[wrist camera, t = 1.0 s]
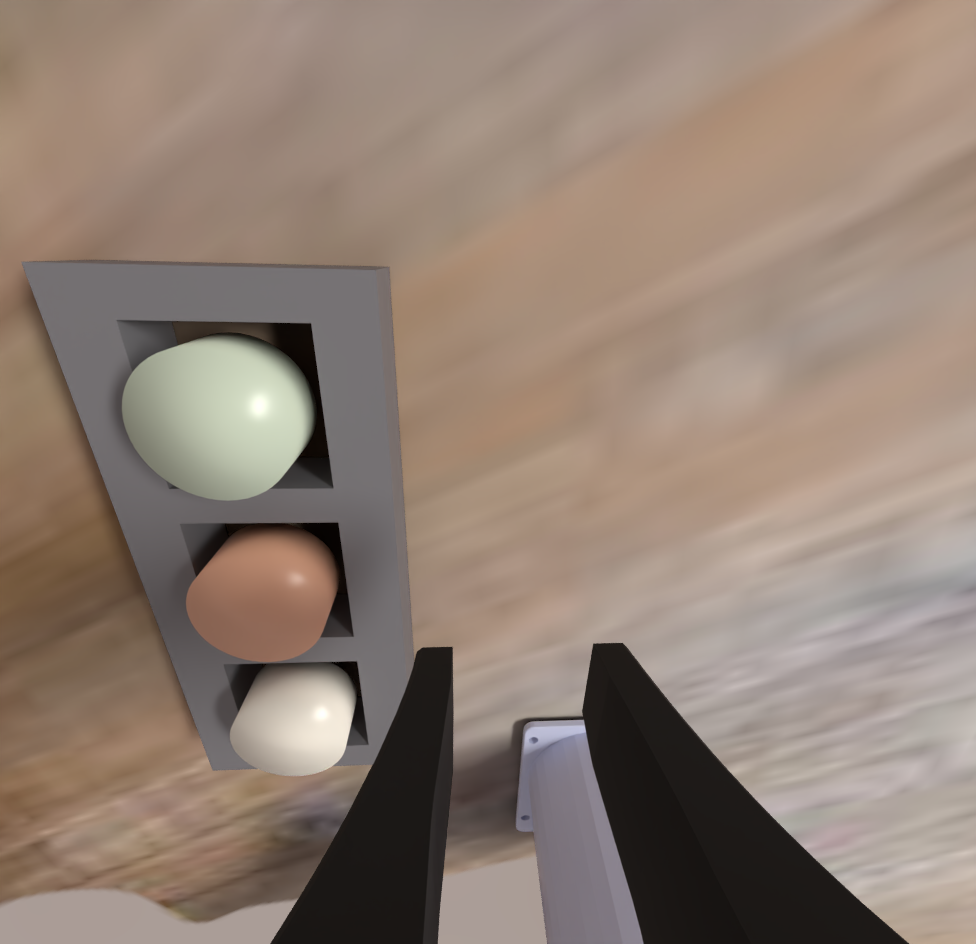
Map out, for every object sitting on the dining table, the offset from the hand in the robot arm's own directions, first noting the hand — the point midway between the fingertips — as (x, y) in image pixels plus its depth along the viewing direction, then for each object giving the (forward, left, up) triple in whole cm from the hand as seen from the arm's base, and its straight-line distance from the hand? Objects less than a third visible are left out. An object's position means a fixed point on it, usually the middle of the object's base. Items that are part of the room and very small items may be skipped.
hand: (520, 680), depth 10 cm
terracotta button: (-3, +8, -8) cm, 11 cm away
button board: (-3, +8, -9) cm, 13 cm away
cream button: (-9, +8, -8) cm, 15 cm away
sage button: (+3, +8, -8) cm, 12 cm away
